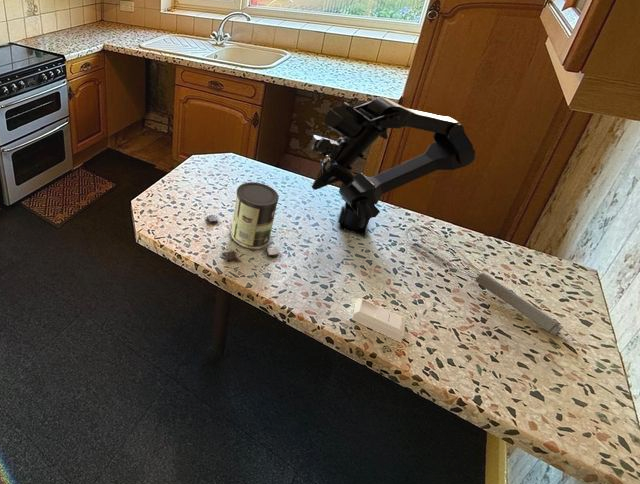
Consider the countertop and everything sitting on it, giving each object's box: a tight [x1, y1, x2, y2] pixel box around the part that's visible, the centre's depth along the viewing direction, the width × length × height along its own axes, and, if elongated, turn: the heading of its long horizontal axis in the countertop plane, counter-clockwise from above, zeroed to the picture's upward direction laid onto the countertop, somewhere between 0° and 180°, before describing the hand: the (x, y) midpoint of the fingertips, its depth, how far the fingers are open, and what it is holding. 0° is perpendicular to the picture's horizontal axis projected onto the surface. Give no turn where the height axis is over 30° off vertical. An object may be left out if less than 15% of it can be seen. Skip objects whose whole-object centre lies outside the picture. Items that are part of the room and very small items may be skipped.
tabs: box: [206, 215, 279, 262], centre depth 108 cm, size 13×17×1 cm
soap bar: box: [351, 297, 406, 343], centre depth 84 cm, size 5×9×3 cm, turn 54°
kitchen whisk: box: [405, 224, 574, 342], centre depth 92 cm, size 6×34×6 cm, turn 26°
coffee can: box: [230, 181, 280, 250], centre depth 105 cm, size 10×10×14 cm
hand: (313, 188), depth 105 cm, fingers closed
